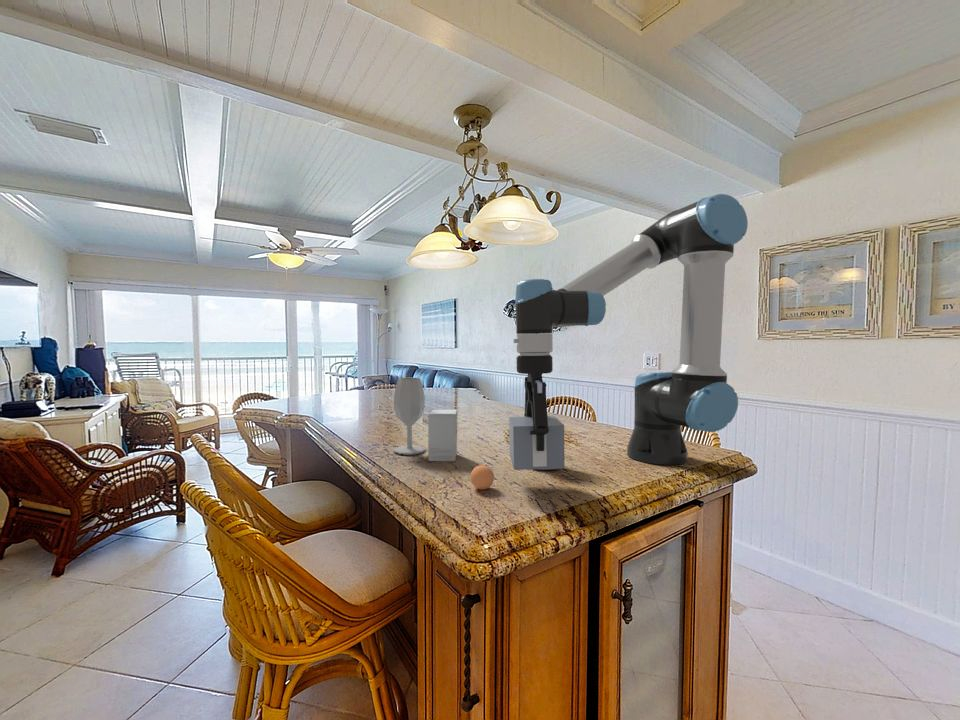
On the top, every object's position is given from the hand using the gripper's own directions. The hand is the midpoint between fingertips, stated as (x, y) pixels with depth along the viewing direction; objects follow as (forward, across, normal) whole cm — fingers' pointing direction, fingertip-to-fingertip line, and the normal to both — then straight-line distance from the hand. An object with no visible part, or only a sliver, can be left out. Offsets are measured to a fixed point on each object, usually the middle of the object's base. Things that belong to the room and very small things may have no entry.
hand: (535, 458), depth 89 cm
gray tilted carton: (+1, 0, 0) cm, 1 cm away
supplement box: (+6, -24, -22) cm, 33 cm away
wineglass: (+6, -30, -32) cm, 44 cm away
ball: (+4, 0, -12) cm, 12 cm away
